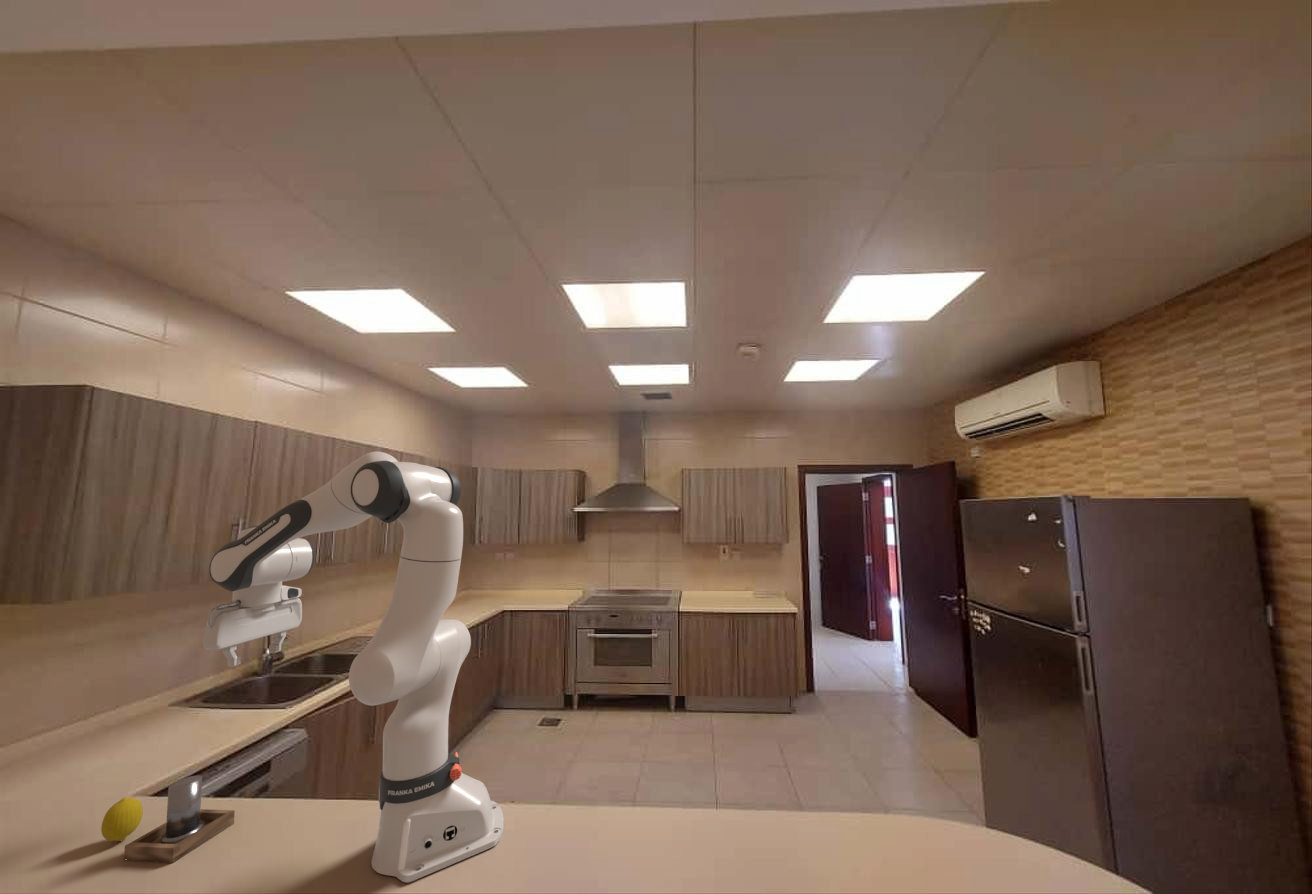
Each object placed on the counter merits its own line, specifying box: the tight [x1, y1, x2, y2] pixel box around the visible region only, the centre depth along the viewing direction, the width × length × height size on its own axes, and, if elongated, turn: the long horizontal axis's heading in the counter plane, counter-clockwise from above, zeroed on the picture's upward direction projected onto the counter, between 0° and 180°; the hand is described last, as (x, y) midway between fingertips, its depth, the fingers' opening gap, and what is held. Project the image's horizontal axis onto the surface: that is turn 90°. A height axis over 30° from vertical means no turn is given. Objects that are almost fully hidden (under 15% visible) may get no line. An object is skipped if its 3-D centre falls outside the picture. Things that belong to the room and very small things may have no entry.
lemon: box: [100, 797, 144, 842], centre depth 95 cm, size 6×6×8 cm
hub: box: [161, 774, 204, 844], centre depth 95 cm, size 6×6×10 cm
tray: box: [123, 808, 235, 864], centre depth 94 cm, size 11×11×2 cm
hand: (255, 658), depth 108 cm, fingers open, 8 cm apart
